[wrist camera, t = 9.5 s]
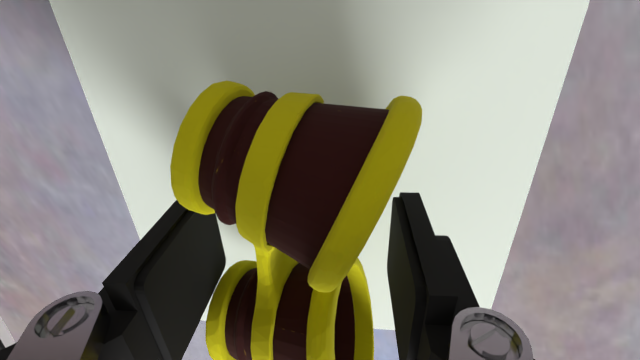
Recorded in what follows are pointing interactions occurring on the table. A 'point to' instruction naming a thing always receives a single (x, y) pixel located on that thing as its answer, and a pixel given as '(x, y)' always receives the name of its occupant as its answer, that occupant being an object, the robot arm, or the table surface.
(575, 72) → the table surface
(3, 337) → the smartphone
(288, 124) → the opera glasses
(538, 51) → the mat
